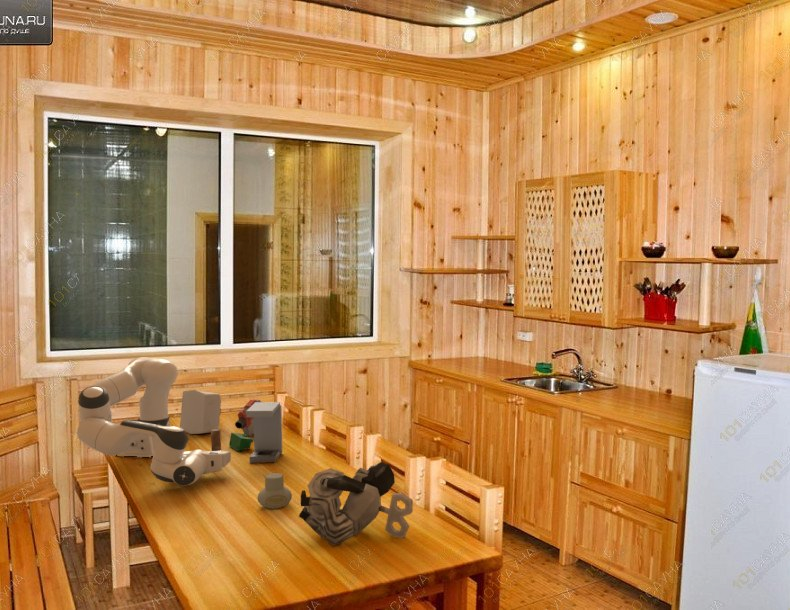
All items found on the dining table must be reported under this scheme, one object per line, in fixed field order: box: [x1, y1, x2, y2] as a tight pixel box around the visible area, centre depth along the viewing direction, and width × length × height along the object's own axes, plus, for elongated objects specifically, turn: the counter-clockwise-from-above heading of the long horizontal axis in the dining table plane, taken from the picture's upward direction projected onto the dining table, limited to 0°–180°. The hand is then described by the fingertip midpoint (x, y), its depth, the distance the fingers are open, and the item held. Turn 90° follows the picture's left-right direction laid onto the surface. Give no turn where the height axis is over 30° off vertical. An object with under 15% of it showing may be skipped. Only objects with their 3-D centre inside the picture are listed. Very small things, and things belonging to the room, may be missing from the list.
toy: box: [298, 461, 414, 547], centre depth 213 cm, size 21×31×30 cm
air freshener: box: [256, 472, 293, 510], centre depth 237 cm, size 11×8×10 cm
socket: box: [249, 450, 281, 464], centre depth 291 cm, size 10×10×2 cm
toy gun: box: [234, 398, 262, 438], centre depth 330 cm, size 4×20×15 cm, turn 163°
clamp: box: [229, 432, 254, 452], centre depth 308 cm, size 12×6×9 cm, turn 28°
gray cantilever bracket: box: [246, 401, 284, 455], centre depth 290 cm, size 11×16×21 cm
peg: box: [210, 428, 222, 451], centre depth 290 cm, size 4×4×12 cm
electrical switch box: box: [179, 389, 222, 435], centre depth 340 cm, size 15×15×20 cm
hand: (207, 452), depth 278 cm, fingers open, 8 cm apart
